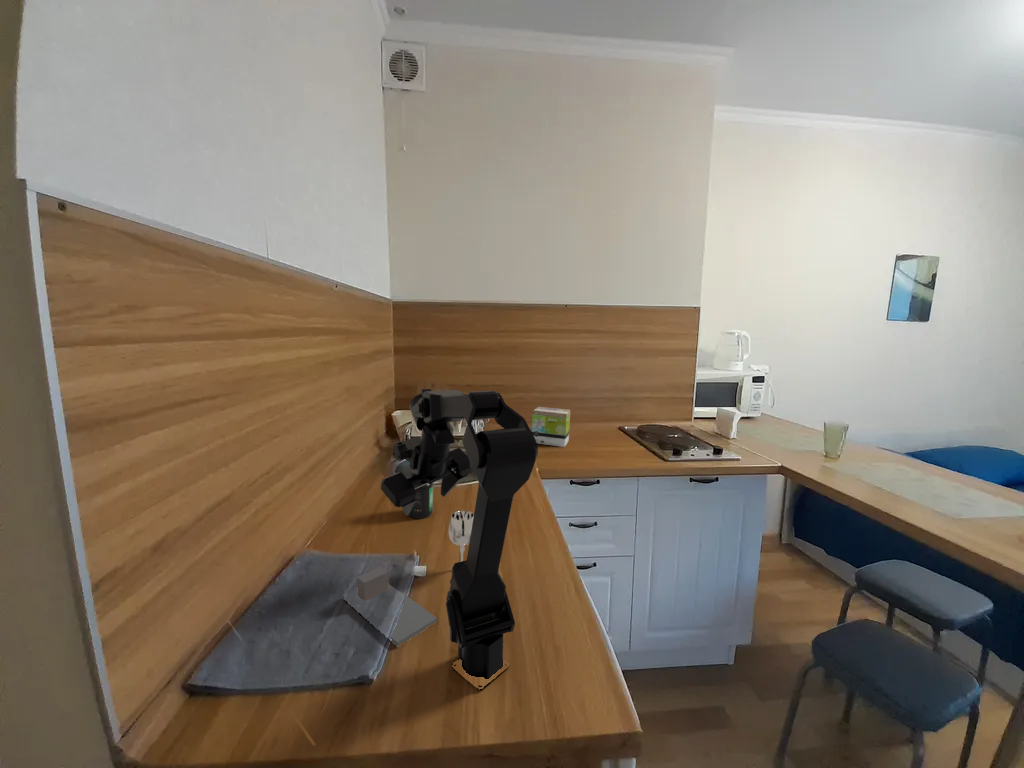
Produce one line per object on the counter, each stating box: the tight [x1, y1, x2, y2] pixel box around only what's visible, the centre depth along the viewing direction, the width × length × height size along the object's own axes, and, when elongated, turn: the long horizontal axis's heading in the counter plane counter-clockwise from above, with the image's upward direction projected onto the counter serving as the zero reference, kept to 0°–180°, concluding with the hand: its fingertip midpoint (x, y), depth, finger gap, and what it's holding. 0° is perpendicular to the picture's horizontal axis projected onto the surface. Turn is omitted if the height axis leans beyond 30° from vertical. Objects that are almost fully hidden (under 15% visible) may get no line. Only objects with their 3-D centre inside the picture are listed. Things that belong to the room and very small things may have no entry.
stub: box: [356, 566, 390, 601], centre depth 82 cm, size 8×8×5 cm
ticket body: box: [391, 595, 438, 646], centre depth 76 cm, size 9×8×1 cm
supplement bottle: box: [407, 469, 434, 520], centre depth 118 cm, size 7×7×12 cm
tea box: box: [531, 406, 571, 448], centre depth 191 cm, size 15×10×15 cm
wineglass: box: [448, 510, 474, 569], centre depth 92 cm, size 6×6×12 cm
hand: (424, 504), depth 92 cm, fingers open, 9 cm apart
